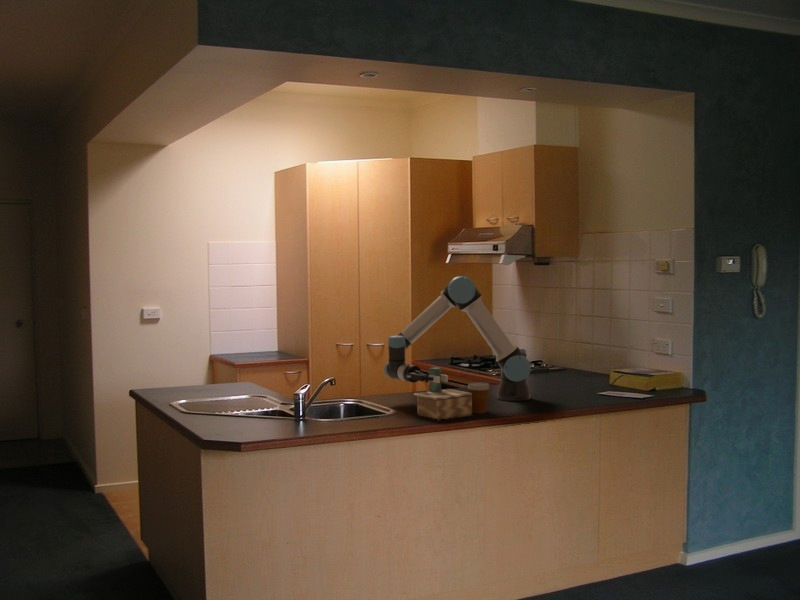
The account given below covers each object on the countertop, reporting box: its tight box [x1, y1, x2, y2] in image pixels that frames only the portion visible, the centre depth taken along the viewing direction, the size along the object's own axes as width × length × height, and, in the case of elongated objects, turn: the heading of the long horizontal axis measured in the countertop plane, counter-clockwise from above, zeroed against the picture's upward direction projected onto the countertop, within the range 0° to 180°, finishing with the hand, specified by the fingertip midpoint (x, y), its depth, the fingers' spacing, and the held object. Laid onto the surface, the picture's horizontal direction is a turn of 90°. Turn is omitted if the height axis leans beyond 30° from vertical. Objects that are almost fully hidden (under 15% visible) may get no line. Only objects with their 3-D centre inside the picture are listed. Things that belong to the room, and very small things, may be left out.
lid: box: [413, 367, 472, 400], centre depth 353 cm, size 19×15×11 cm
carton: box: [416, 396, 473, 421], centre depth 353 cm, size 18×14×8 cm
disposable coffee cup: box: [467, 381, 491, 414], centre depth 359 cm, size 10×10×12 cm
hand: (443, 379), depth 353 cm, fingers closed on lid, 3 cm apart
